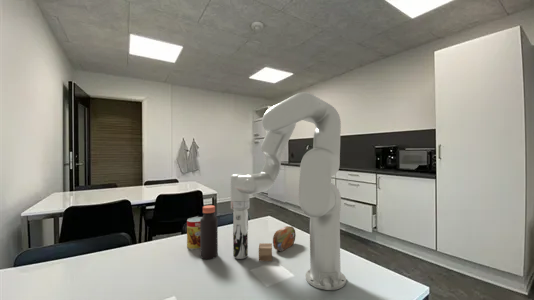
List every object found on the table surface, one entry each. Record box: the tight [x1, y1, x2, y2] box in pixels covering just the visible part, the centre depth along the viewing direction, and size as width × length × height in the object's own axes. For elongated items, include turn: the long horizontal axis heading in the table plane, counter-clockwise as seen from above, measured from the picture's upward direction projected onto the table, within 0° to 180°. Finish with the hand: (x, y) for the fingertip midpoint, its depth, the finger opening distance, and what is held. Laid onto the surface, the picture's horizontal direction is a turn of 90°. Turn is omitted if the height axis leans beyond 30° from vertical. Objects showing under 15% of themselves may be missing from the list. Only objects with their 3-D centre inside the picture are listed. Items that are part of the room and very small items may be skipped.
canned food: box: [186, 216, 203, 250], centre depth 106 cm, size 8×8×12 cm
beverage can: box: [232, 230, 249, 260], centre depth 94 cm, size 6×6×12 cm
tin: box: [272, 226, 297, 252], centre depth 103 cm, size 15×3×8 cm, turn 143°
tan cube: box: [258, 242, 273, 262], centre depth 92 cm, size 5×5×5 cm
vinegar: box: [199, 204, 219, 260], centre depth 95 cm, size 7×7×20 cm
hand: (240, 250), depth 94 cm, fingers closed on beverage can, 3 cm apart
